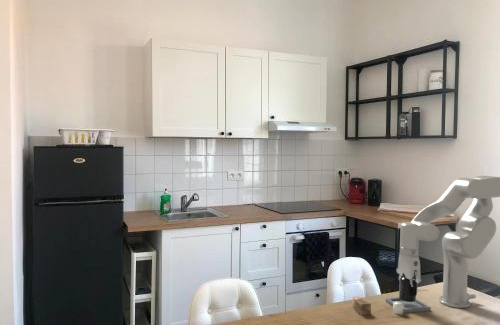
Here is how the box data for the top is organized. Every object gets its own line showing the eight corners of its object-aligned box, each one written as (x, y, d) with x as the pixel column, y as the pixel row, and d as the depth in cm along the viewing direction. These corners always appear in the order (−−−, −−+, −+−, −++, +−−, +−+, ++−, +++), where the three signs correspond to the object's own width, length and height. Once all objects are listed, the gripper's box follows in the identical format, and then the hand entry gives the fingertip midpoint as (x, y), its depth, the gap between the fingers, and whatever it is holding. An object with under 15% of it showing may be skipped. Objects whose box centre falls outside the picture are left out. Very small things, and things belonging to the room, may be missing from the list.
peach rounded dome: (359, 305, 175) (359, 296, 175) (364, 309, 171) (364, 299, 171) (351, 306, 174) (351, 297, 174) (355, 309, 170) (355, 300, 170)
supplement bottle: (417, 303, 171) (418, 274, 171) (400, 301, 173) (401, 273, 173) (414, 297, 178) (415, 270, 178) (397, 296, 180) (398, 269, 179)
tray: (411, 299, 183) (411, 296, 183) (430, 310, 171) (430, 307, 171) (385, 301, 180) (385, 298, 180) (403, 312, 168) (403, 309, 168)
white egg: (399, 310, 170) (399, 301, 170) (405, 314, 166) (405, 304, 166) (391, 311, 169) (391, 301, 169) (396, 314, 166) (396, 305, 165)
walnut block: (365, 310, 170) (365, 299, 170) (370, 314, 166) (370, 303, 166) (355, 311, 169) (355, 300, 169) (360, 315, 165) (360, 304, 165)
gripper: (429, 256, 168) (428, 299, 168) (404, 246, 184) (403, 285, 185) (413, 257, 166) (412, 300, 166) (389, 247, 183) (388, 286, 183)
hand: (407, 292), depth 175 cm, fingers closed on supplement bottle, 6 cm apart
